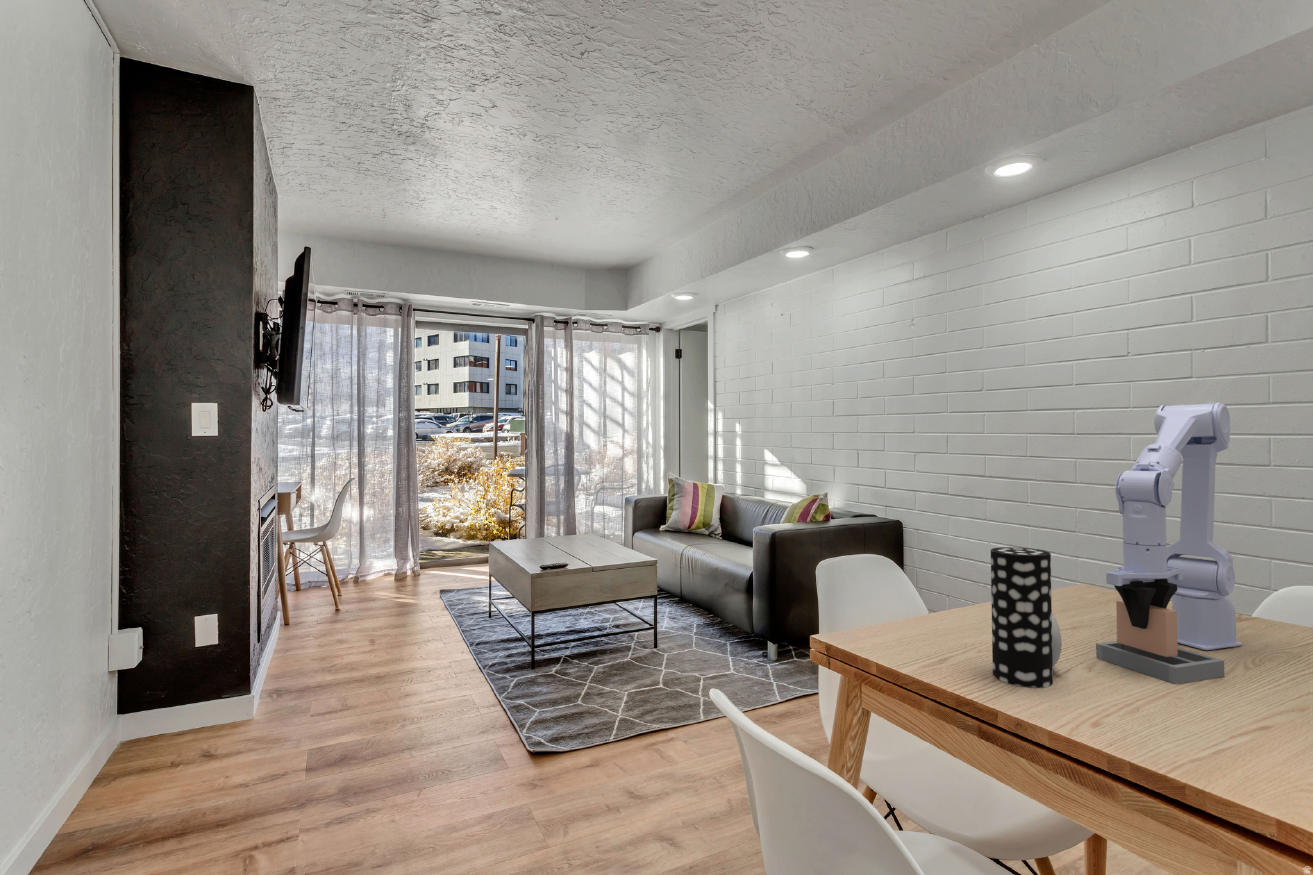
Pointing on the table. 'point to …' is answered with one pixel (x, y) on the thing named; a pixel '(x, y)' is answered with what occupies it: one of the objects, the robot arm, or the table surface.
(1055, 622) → the donut
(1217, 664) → the dish rack
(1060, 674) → the table surface
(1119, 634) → the brick block
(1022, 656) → the spotted tube
